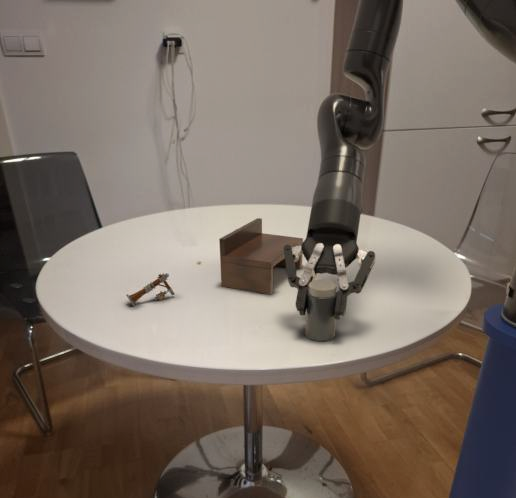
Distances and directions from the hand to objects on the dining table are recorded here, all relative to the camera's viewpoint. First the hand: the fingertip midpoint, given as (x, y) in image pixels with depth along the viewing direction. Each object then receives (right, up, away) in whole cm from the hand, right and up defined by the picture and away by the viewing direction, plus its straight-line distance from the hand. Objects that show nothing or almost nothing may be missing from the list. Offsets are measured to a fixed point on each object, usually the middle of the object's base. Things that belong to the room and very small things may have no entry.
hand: (319, 314), depth 70 cm
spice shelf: (-8, +9, +25) cm, 28 cm away
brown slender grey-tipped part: (-28, +3, +15) cm, 32 cm away
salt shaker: (0, -3, +4) cm, 5 cm away
